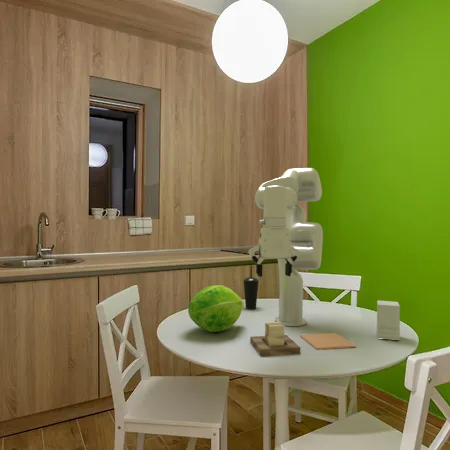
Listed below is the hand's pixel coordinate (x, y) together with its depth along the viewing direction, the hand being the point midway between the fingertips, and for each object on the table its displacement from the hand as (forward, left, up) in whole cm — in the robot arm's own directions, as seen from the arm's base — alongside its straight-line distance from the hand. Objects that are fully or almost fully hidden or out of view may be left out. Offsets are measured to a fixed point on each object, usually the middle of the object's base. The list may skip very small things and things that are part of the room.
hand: (273, 276), depth 126 cm
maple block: (0, +1, -24) cm, 24 cm away
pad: (-3, +21, -24) cm, 32 cm away
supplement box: (-4, +45, -24) cm, 51 cm away
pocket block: (0, +1, -24) cm, 24 cm away
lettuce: (-22, -14, -24) cm, 36 cm away
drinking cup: (-54, +7, -24) cm, 60 cm away
